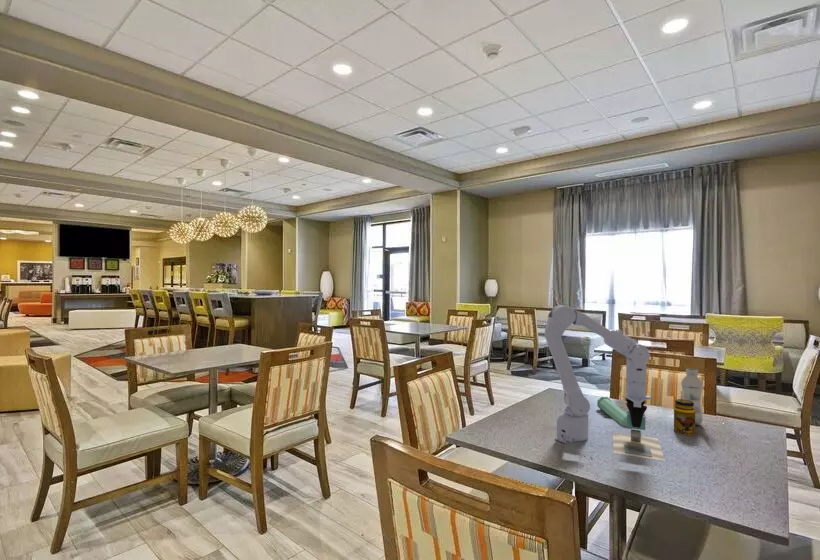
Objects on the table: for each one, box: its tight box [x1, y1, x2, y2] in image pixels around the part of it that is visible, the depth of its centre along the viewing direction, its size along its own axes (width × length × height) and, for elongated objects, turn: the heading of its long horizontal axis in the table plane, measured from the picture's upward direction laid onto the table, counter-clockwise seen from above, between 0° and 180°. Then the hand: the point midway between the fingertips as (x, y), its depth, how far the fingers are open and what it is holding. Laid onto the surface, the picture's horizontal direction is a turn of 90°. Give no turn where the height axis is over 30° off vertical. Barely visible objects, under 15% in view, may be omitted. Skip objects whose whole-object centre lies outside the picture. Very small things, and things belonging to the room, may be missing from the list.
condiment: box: [673, 398, 696, 436], centre depth 145 cm, size 7×8×12 cm
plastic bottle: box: [681, 368, 704, 426], centre depth 157 cm, size 6×7×20 cm
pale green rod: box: [596, 396, 627, 427], centre depth 161 cm, size 6×6×25 cm
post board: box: [612, 428, 666, 462], centre depth 132 cm, size 19×13×4 cm
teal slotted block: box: [626, 410, 646, 431], centre depth 136 cm, size 5×5×4 cm
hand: (635, 424), depth 136 cm, fingers closed on teal slotted block, 5 cm apart
